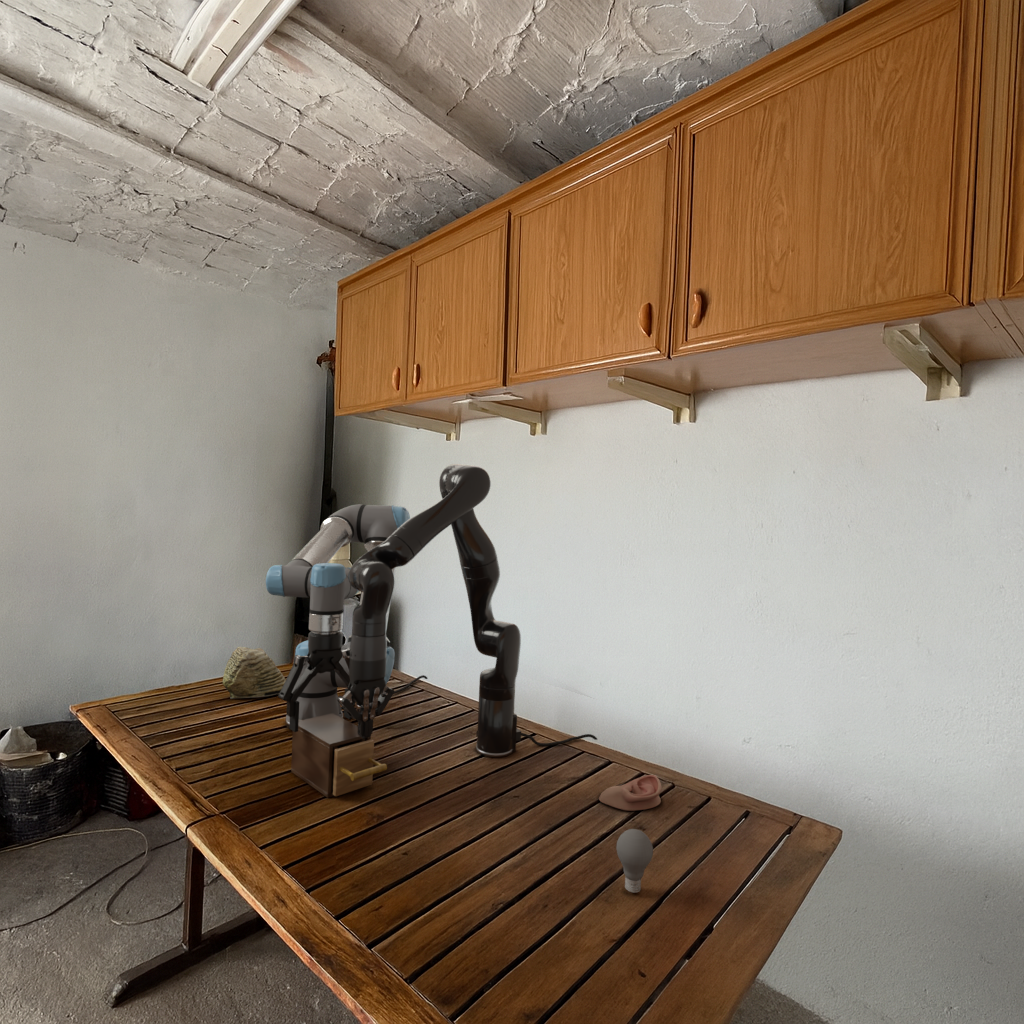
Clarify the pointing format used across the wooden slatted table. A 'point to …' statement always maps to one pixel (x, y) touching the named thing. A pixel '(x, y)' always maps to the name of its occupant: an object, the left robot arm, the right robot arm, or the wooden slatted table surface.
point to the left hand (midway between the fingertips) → (321, 723)
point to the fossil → (252, 674)
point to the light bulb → (634, 857)
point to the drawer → (353, 766)
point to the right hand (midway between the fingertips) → (365, 736)
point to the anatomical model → (634, 794)
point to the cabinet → (320, 749)
